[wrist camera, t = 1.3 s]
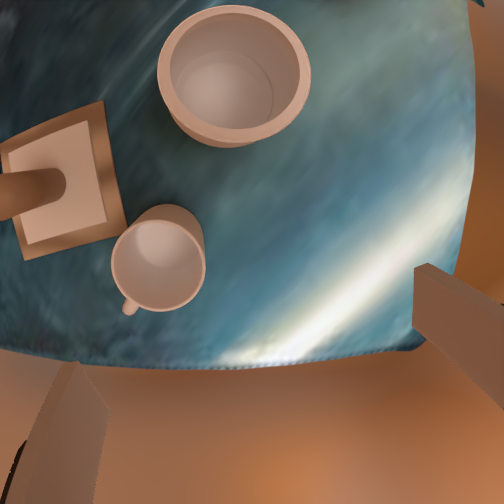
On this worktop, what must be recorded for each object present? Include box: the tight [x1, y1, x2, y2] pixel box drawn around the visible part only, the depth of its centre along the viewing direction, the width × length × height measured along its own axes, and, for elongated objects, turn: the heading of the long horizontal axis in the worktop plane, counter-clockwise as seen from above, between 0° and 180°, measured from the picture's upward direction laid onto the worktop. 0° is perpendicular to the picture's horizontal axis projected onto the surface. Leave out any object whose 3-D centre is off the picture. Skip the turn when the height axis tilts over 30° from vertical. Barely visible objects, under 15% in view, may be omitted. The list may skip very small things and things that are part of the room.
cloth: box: [0, 100, 128, 261], centre depth 29 cm, size 16×16×1 cm
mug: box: [111, 204, 206, 315], centre depth 30 cm, size 12×8×10 cm
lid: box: [0, 120, 109, 245], centre depth 24 cm, size 12×12×12 cm
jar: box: [157, 5, 311, 148], centre depth 24 cm, size 11×10×15 cm
